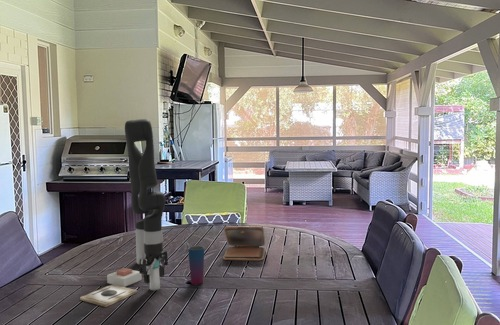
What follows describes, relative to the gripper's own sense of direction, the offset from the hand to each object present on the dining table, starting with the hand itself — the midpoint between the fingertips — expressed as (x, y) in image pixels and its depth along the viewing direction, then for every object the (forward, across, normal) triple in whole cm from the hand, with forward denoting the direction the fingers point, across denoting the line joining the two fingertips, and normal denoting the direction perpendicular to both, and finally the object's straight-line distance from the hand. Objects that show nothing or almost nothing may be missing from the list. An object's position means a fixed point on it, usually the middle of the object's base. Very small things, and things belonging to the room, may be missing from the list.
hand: (154, 279), depth 187 cm
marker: (+4, 0, 0) cm, 4 cm away
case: (+4, -58, +8) cm, 59 cm away
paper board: (+4, +15, -10) cm, 18 cm away
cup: (+4, -14, +11) cm, 18 cm away
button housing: (+4, 0, -17) cm, 17 cm away
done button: (+1, 0, -17) cm, 17 cm away
